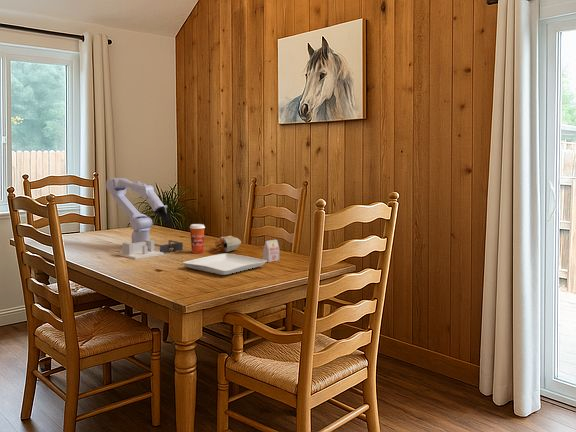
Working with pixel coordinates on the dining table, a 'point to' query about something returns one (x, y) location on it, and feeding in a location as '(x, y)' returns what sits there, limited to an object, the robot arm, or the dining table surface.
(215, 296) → the dining table surface
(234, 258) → the square plate
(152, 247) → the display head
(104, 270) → the dining table surface
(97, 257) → the dining table surface
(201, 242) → the paper cup
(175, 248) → the glasses
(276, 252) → the milk carton
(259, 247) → the dining table surface
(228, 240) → the nautilus
